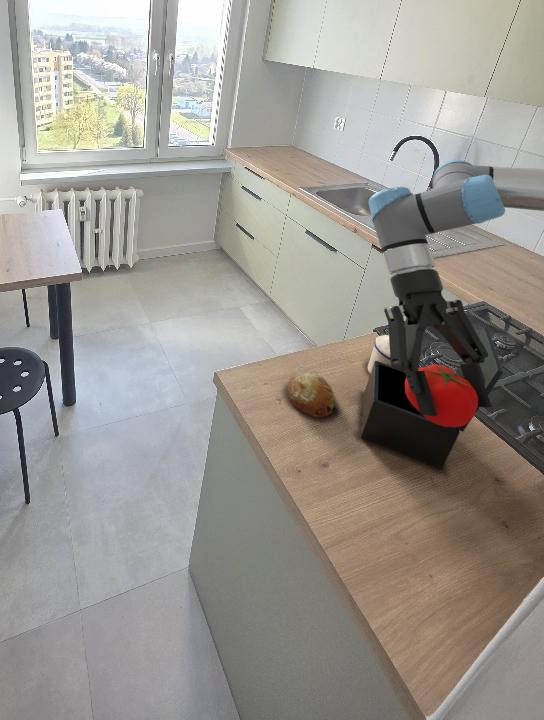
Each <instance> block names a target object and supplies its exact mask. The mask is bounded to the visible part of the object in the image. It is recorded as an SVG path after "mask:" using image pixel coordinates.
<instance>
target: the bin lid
mask: <svg viewBox="0 0 544 720" xmlns="http://www.w3.org/2000/svg"><path fill="white" fill-rule="evenodd" d="M478 337H479V339H480V340H481V342H482V344H483V346H484V347H485V349H486V351H487V353H488V357H486V358H484V359H485V361H484V362H483V363H480V366H481V369H482V372H483V375H484V378H485V383H484V386H485V388H486V391H487V394H488V395H489V394H490V393H491V392H492V390H493V389H494V387H495V385H496V384H497V382H498V381H499V380H500V379H501V377H502V375H503V374H504V369H503V366H502V364H501V361H500V358H499V355H498V352H497V349H496V346H495V343H494V341H493V337H492V334H491V332H490V328H489V327H486V326H483V327H482V329H481V331H480V332H479V334H478ZM476 350H477V349H476ZM461 364H466V363H465V362H463V361H462V362H461ZM455 372H456V373H457V374H460V375H458V376H459V377H461V378H463V379H464V376H463V373H462V370H461V367H460V366H458V369H457V370H456V371H455ZM480 408H481V407H477V409H476V412H475V414H476V413H477V412H478V410H479V409H480ZM471 421H472V419H471V420H470V422H471ZM470 422H468V423H467V424H465V425H463V426H460V427H458V430H459V432H464V431H465V430H466V429H467V427H468V425H469V424H470Z"/></svg>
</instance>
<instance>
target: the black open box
mask: <svg viewBox="0 0 544 720" xmlns="http://www.w3.org/2000/svg"><path fill="white" fill-rule="evenodd" d="M369 374H370V373H369ZM406 378H407V377H406V374H405V372H404V371H401V370H400V369H398V368H393V367H392V366H391V365H388V364H385V363H382V362H379V361H376V360H375V362H374V365H373V368H372V371H371V374H370V375H369V377H368V380H367V383H366V386H365V389H364V391H363V395H362V397H363V398H362V412H361V426H360V427H361V428H360V439H362V440H365V441H366V442H367V441H368V442H370V443H372V444H375V445H377V446H379V447H382V448H384V449H387V450H389V451H392V452H395V453H397V454H399V455H402V456H405V457H407V458H410V459H412V460H415V461H417V462H419V463H422V464H424V465H427V466H430V467H432V468H434V469H437V470H439V471H442V470H443V468H444V466H445V464H446V461H447V460H448V458H449V455H450V454H451V451H452V450H453V448H454V445H455V443H456V442H457V439H458V437H459V435H460V434H461V433H460V432H461V431H460V430H458V427H445V426H442V425H439V424H436V423H434V422H432V421H430V420H428V419H427V418H426V417H424V416H423V415H421V414H420V412H419V411H418V410H417V409H416V408H415V407H414V406H413V405H412V403H411V402H410V401H409V400H408V397H407V395H406V393H405V380H406Z"/></svg>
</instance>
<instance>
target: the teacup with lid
mask: <svg viewBox="0 0 544 720" xmlns="http://www.w3.org/2000/svg"><path fill="white" fill-rule="evenodd" d="M375 360H376V361H379V362H382V363H385V364H388V365H391V358H390V343H389V334H381V335H379V336H378V337H376V338H375V340H374V345H373V349H372V352H371V355H370V359H369V362H368V364H367V371H368V373H369V374H371V371H372V368H373V365H374V362H375Z"/></svg>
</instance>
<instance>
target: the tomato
mask: <svg viewBox="0 0 544 720" xmlns="http://www.w3.org/2000/svg"><path fill="white" fill-rule="evenodd" d="M418 371H425V375H426V378H427V381H428V385H429V388H430V391H431V395H432V398H433V401H434V404H435V408H436V411H437V414H438V416H428V415H423V416H424V417H426V418H427V419H428V420H430V421H432V422H434V423H436V424H439V425H442V426H445V427H460V426H463V425H465V424H467V423H468V422H469V423H470V422H471V421H472V419H473V418H475V415H476V413H477V412H476V409H477V407H478V396H477V394H476V391H475V390H474V388H473V387H472V386H471V384H470V383H469V382H468V381H467V380H465V379H463V378H461V377H459V376H458V375H460V374H457V373H456V372H457V371H455V370H454V369H452V368H450V367H447V366H446V365H442V364H437V363H434V364H431V365H428V366H424V367H419V369H418ZM405 393H406V395H407V397H408V400H409V401H410V402H411V403H412V405H413V406H414V407H415V408H416V409H417V410H418V411H419V412H420V410H419V407H418V403H417V400H416V396H415V393H412V392H411V390H410V388H409V384H408V381H407V378H406V380H405ZM475 412H476V413H475ZM470 420H471V421H470Z"/></svg>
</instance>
